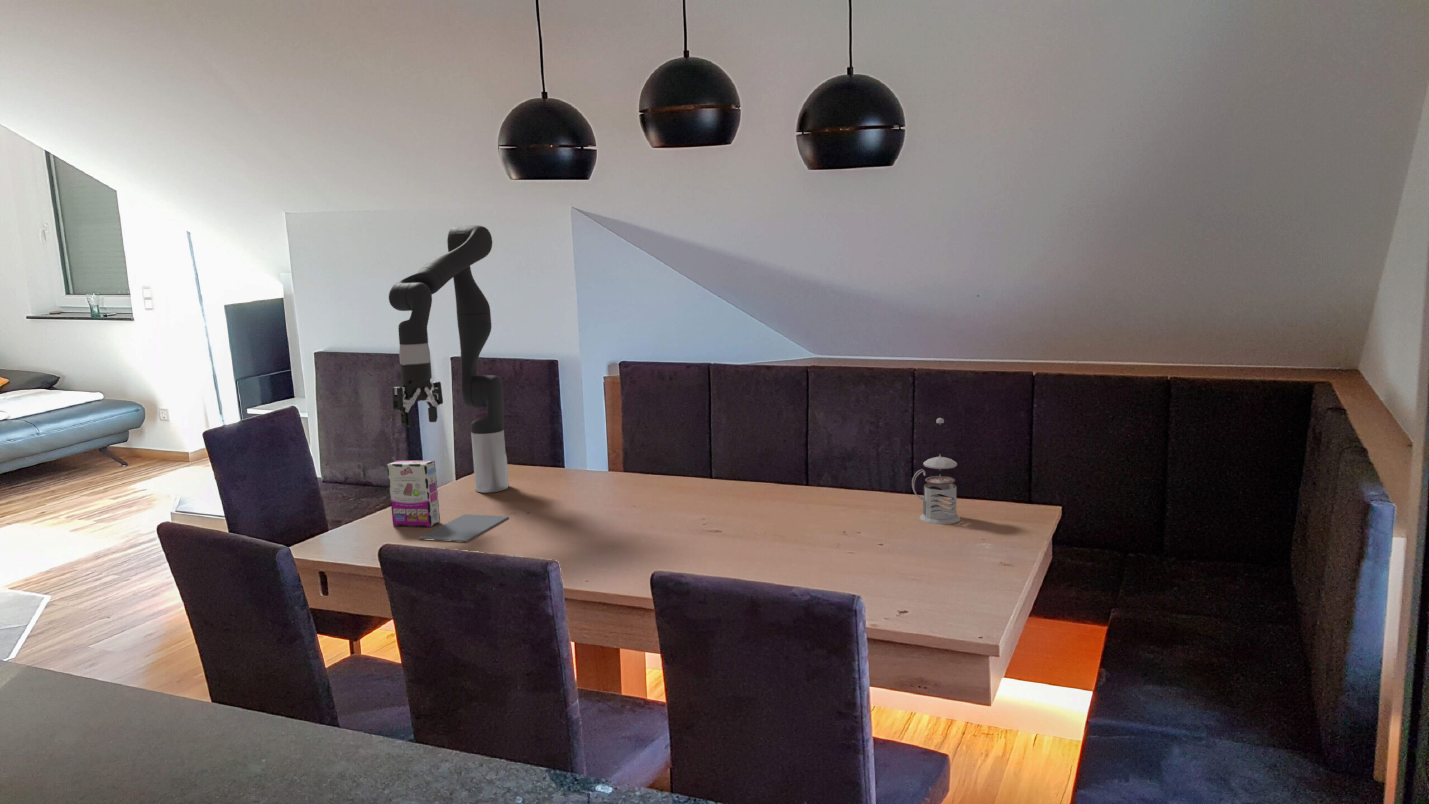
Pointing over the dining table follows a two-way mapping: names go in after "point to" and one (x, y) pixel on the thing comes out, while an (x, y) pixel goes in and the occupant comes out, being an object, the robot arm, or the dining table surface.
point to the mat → (465, 527)
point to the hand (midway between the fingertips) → (420, 424)
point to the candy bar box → (413, 493)
